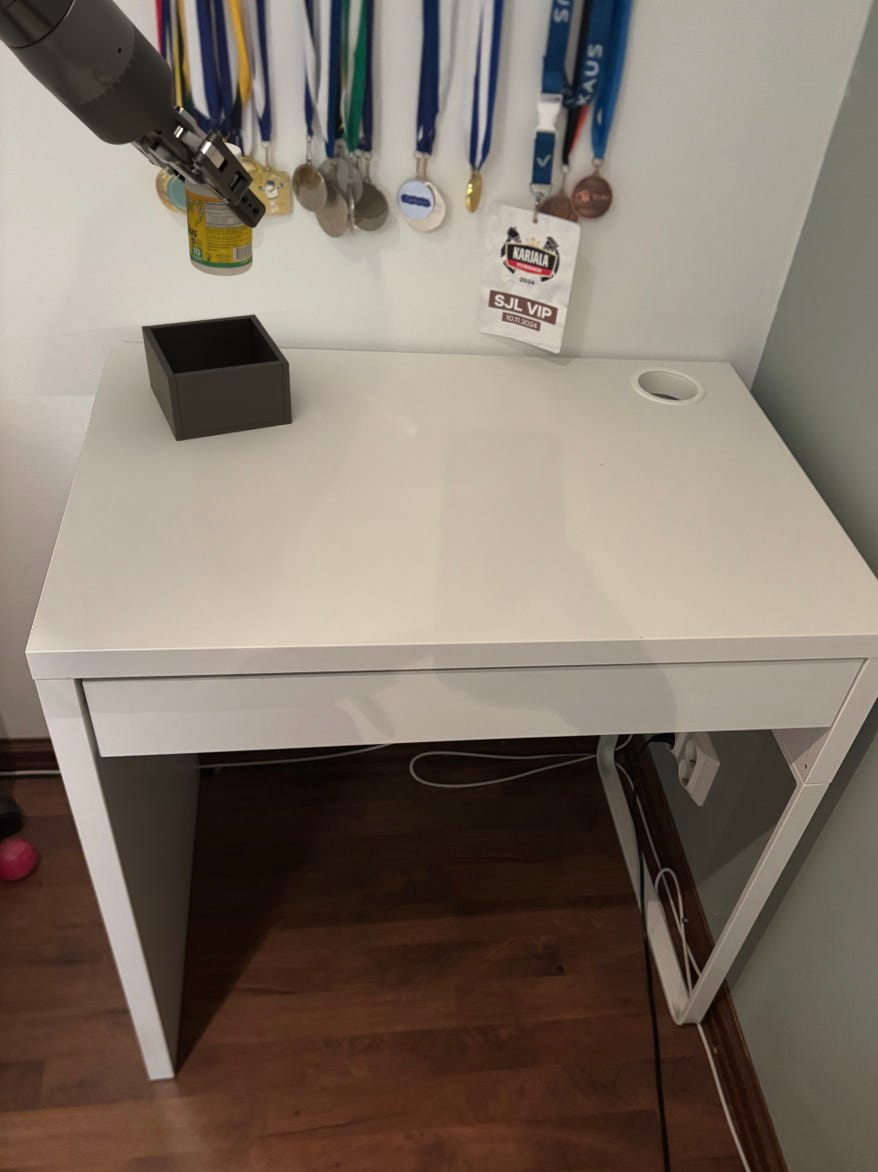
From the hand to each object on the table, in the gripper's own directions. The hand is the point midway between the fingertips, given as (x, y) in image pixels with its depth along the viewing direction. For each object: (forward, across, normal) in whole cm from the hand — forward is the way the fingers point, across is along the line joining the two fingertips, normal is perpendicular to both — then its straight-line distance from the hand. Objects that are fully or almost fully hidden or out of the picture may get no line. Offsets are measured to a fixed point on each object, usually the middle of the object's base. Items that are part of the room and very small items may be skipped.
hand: (235, 206), depth 82 cm
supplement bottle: (+2, 0, +5) cm, 5 cm away
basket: (+14, +4, +15) cm, 21 cm away
